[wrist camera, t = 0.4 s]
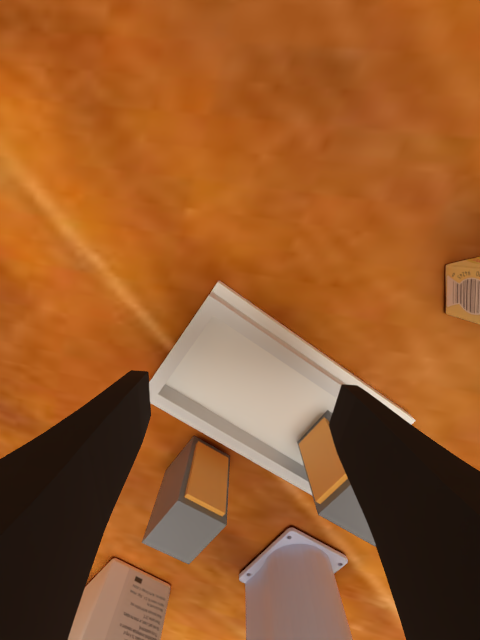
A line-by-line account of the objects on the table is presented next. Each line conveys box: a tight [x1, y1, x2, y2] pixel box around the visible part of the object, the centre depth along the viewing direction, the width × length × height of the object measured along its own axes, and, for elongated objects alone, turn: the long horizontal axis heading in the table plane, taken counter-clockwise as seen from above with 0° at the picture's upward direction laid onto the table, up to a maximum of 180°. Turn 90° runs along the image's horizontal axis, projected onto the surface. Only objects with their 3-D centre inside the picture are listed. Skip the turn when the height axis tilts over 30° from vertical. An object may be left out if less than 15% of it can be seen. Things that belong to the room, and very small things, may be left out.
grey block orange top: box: [142, 436, 230, 564], centre depth 20 cm, size 4×5×6 cm
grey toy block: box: [297, 410, 376, 547], centre depth 18 cm, size 4×5×6 cm
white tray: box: [149, 280, 416, 496], centre depth 20 cm, size 11×20×2 cm, turn 55°
